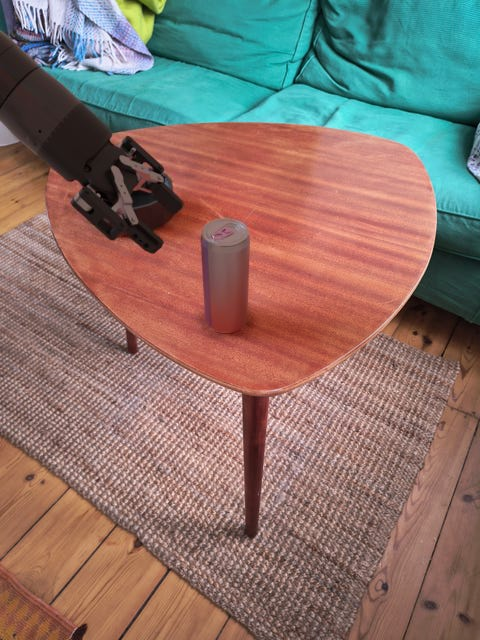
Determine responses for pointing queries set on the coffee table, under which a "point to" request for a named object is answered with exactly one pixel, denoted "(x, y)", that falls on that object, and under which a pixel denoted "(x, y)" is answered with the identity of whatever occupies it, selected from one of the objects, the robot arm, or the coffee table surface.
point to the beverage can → (225, 273)
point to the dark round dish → (149, 207)
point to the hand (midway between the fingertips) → (169, 228)
